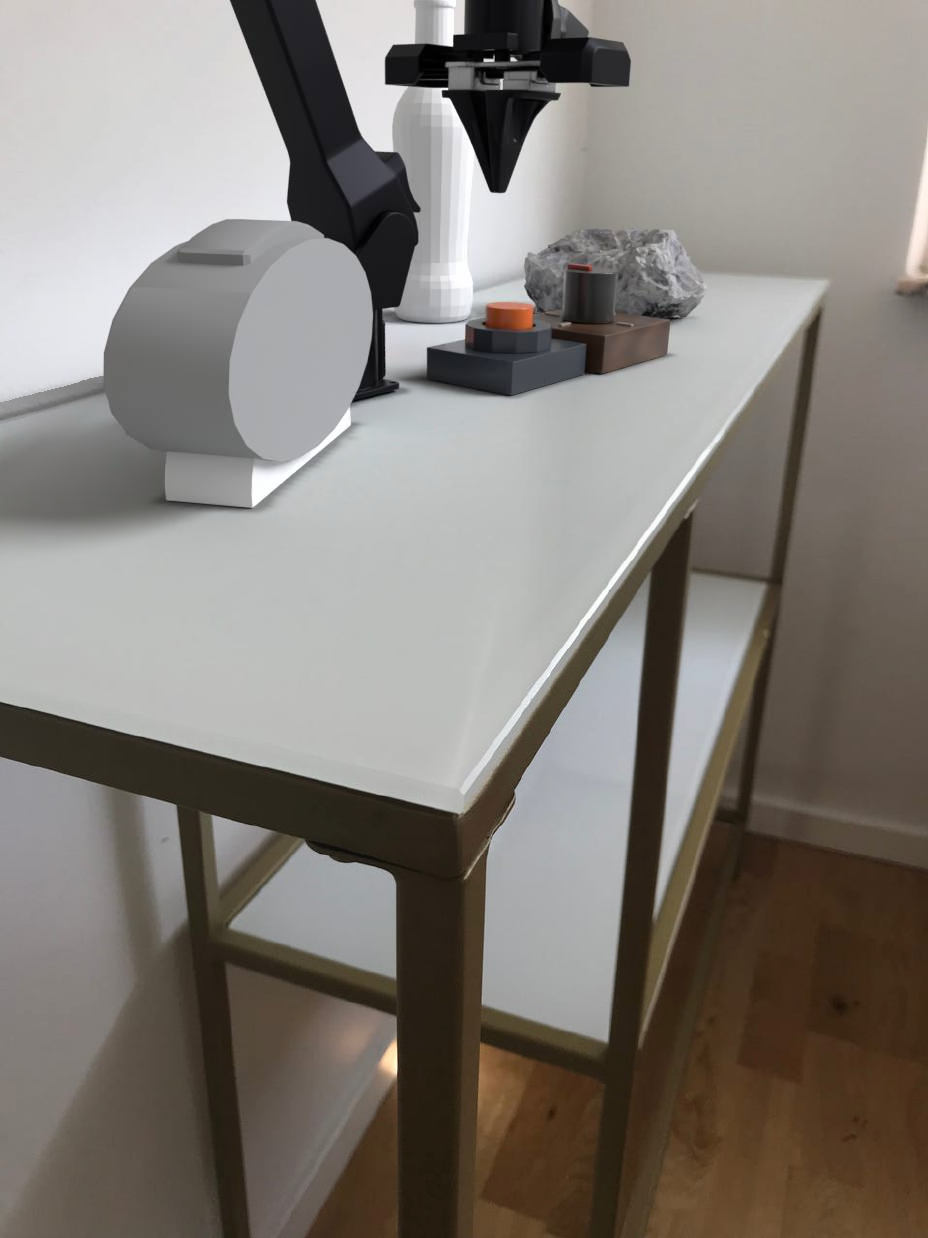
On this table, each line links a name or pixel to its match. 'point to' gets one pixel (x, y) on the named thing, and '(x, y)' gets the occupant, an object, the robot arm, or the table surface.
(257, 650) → the table surface
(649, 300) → the rock
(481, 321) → the button box
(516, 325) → the button
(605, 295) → the knob
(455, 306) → the bottle
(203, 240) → the alarm clock
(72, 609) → the table surface
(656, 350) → the panel
